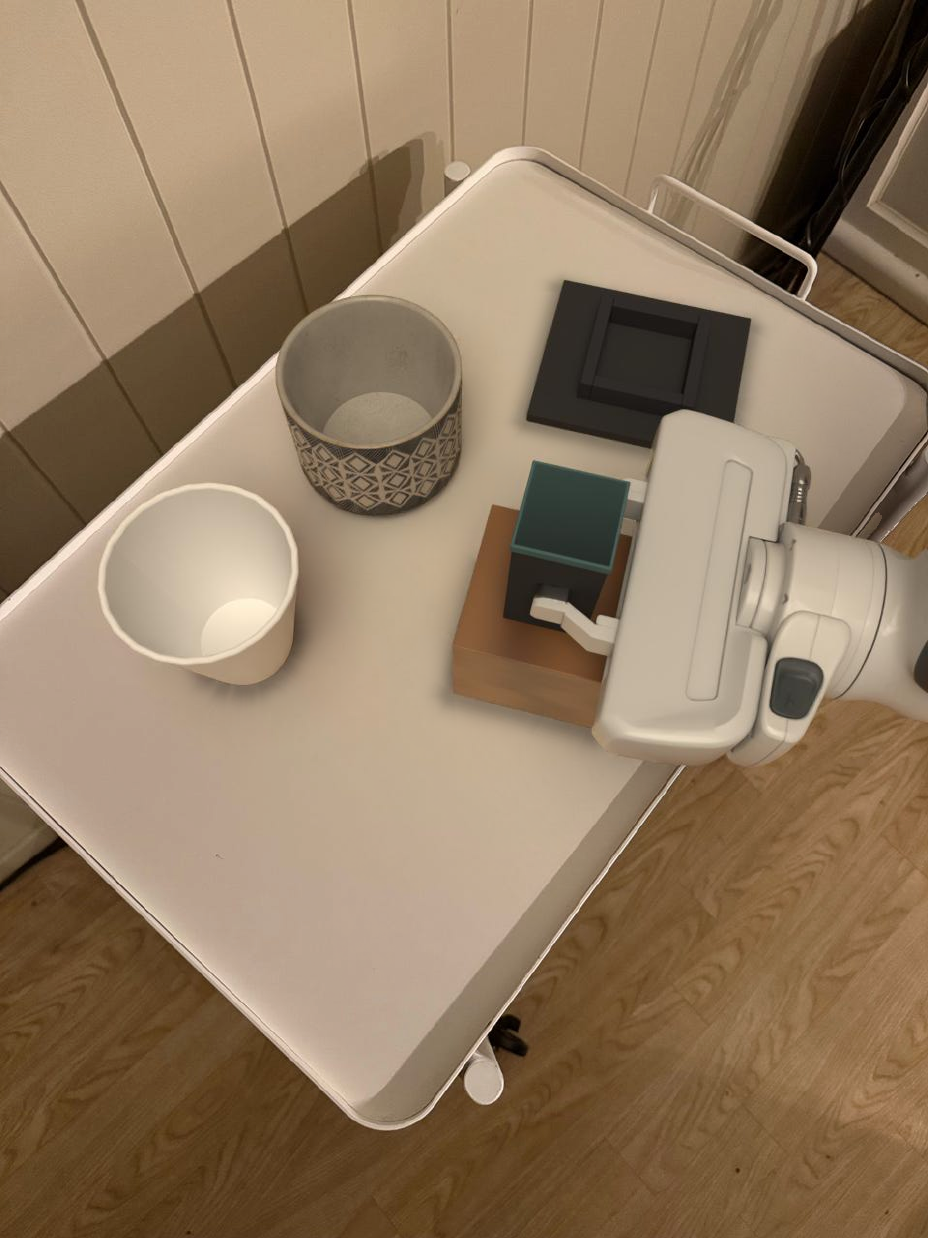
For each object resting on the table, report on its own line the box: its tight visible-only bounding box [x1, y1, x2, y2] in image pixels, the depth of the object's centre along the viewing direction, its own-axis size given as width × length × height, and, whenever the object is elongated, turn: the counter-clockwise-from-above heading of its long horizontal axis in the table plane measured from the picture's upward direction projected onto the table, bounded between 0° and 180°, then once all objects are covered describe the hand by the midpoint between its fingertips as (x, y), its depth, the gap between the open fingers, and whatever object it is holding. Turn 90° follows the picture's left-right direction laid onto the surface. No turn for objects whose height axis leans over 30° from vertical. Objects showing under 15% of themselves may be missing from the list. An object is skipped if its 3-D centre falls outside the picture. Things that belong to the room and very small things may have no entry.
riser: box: [452, 503, 633, 729], centre depth 58 cm, size 10×10×10 cm
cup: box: [97, 481, 300, 686], centre depth 57 cm, size 12×12×12 cm
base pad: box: [525, 279, 752, 449], centre depth 70 cm, size 16×14×3 cm
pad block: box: [503, 459, 631, 633], centre depth 49 cm, size 5×5×10 cm
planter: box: [274, 294, 463, 516], centre depth 64 cm, size 13×13×10 cm
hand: (545, 548), depth 48 cm, fingers closed on pad block, 5 cm apart
